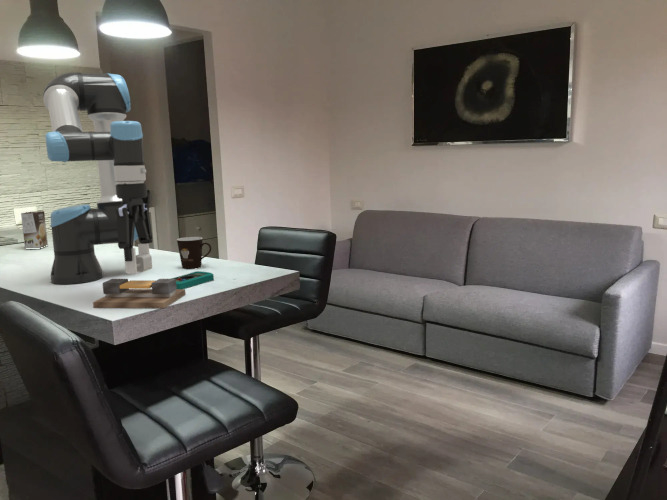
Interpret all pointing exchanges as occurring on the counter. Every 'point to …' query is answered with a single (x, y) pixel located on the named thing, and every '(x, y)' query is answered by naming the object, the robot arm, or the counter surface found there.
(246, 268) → the counter surface
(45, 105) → the robot arm
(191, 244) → the coffee mug
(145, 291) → the board
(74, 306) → the counter surface
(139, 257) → the usb wall charger
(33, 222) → the coffee box
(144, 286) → the orange flat plate
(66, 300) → the counter surface
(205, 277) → the digital multimeter
